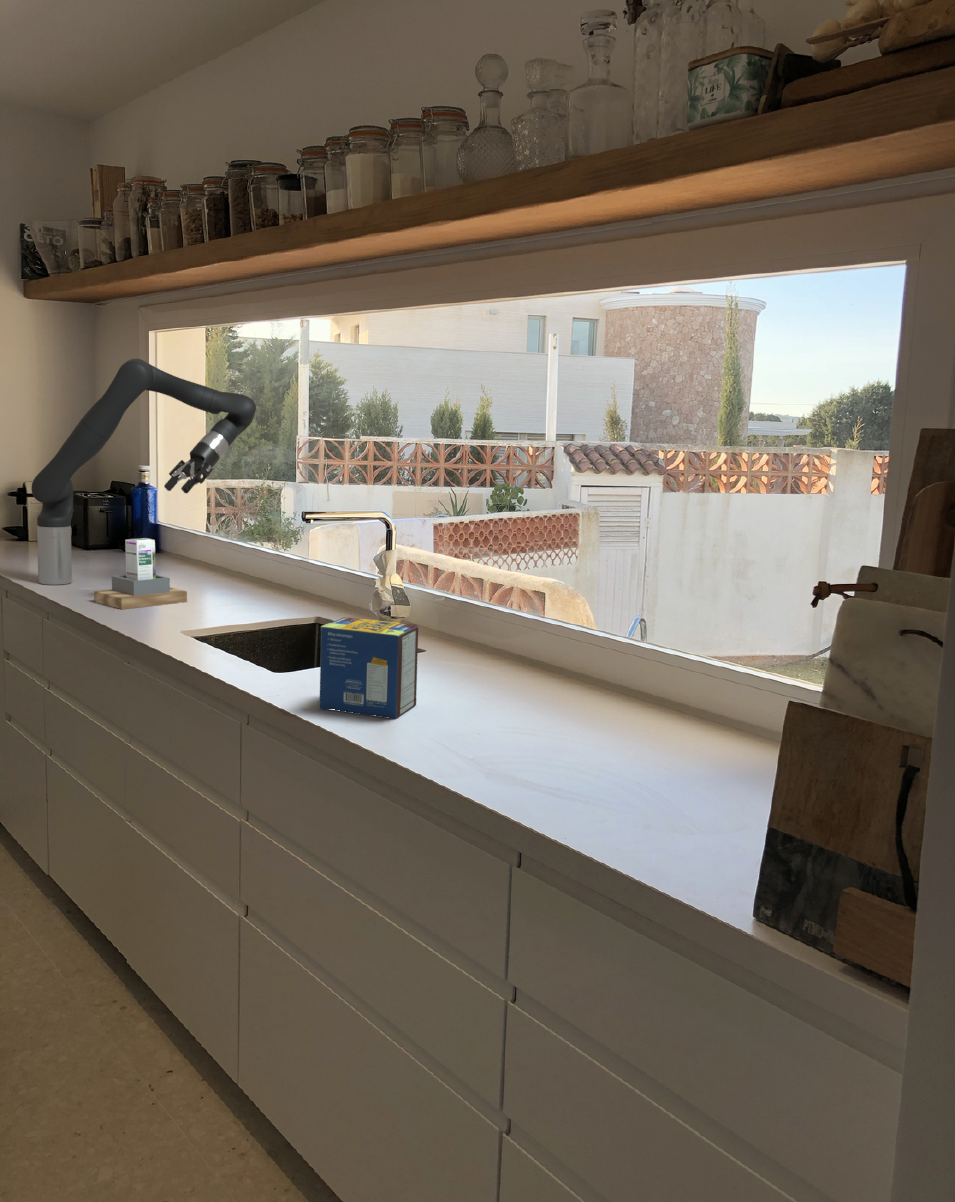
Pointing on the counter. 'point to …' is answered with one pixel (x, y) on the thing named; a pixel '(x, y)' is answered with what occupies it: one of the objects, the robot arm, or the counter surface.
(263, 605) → the counter surface
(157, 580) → the grey square frame
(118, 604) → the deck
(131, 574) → the syrup box
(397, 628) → the protein box
